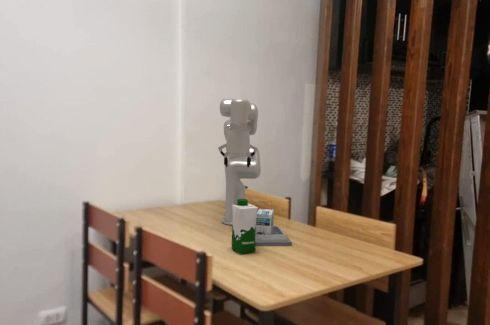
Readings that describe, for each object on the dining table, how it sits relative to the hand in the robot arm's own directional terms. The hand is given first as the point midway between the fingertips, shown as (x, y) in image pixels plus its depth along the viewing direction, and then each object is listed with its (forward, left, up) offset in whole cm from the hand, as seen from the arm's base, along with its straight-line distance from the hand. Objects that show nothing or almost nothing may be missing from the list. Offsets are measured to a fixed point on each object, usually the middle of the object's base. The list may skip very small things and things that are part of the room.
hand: (237, 166), depth 191 cm
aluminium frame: (+9, +12, -29) cm, 32 cm away
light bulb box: (+9, +12, -29) cm, 32 cm away
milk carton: (+24, +1, -31) cm, 39 cm away
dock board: (+9, +12, -30) cm, 34 cm away
